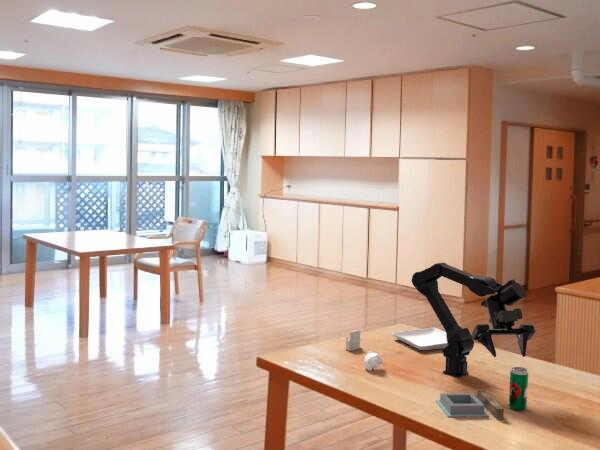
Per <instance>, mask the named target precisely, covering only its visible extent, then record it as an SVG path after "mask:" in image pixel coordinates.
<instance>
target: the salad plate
mask: <svg viewBox="0 0 600 450" xmlns="http://www.w3.org/2000/svg"><path fill="white" fill-rule="evenodd" d="M391 334H392V336H393V337H395V338H396V339H397V340H399V341H401V342H403V343H405V344H407V345H409V346H411V347H413V348H415V349H417V350H419V351H430V350H438V349H439V350H442V349H445V348H446V347H447V346H448V343H447V337H446V331H445V330H442V329H439V328H437V327H428V328H419V329H417V328H416V329H409V330H402V331H396V332H391Z"/></svg>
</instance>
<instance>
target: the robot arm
mask: <svg viewBox="0 0 600 450" xmlns="http://www.w3.org/2000/svg"><path fill="white" fill-rule="evenodd" d="M441 277H442V278H446V279H448V280H451V281H453V282H455V283H457V284H460V285H462V286H465V287H466V288H468V290H469V291H470V292H471V293H473V294H475V296H478V297H480V298H481V297H484V298H483V300H482V301H481V303H480V306H481V307H484V308H486V309H487V311H488V316H489V319H488V321H489V323H491V327H492V328H490V325H489V324H488V323H487V324H485V323H483V324H482V323H480V324H476V325H475V326H474V328H473V330H472V332H471V331H470V330H469V328H468V327H464V328H463V327H461V326H460V325H459V323H458V321H457V320H456V318H455V317H454V315H453V313H452V312H451V310H450V308H449V306H448V305H447V303H446V301H445V300H444V298H443V296H442V295H441V293H440V291H439V282H438V280H439V279H440V278H441ZM411 283H412V286H413V287H414V288H415V289H416V290H417V292H419V293H420V294H421V295H423V296H424V297H425V298H426V300H427V301H428V303H429V305H430V307H431V309H432V311H434V313H435V316H436V317H437V319H438V320H439V322H440V324H441V326H442V327H443V329H444V332H446V337H447V343H448V346H447V347H446V348H442V349H441V350H442V351H441V352H442V357H444V358H445V370H443V371H442V374H446V375H450V376H453V377H456V378H457V377H458V378H460V377H463V376H466V375H467V374H469V371H468V361H467V356H469V355H470V353H471V351H473V349H474V346H475V341H477V343H480V344H481V345H483V346H484V348H486V349H487V351H488V352H489V353H490V354H491V355H492V357H493V358H496V357H497V352H496V348H495V344H494V342H493V338H492V336H516V339H518V340H517V344H518V346H519V351H520V353H521V356H522V357H523V358H525V357H526V355H527V354H526V353H527V344H528V341H529V340H531V339H532V337H533V336H534V334H535V333H536V332H537V330H536V327H535V326H534V324H531V323H525V324H524V323H522V324H520V325H519V327H518V328H513V327H514V326H515V322H518V320H522V319H523V317H524V316H523V311H522V309H521V308H515V309H513V310H508V309H507V306H508V307H511V306H514V305H516V304H517V303H518V302H520V301H522V300H523V299H525V298H526V296H527V292H526V290H525V288H524V287H523V286H522V285H521V284H520V283H518V282H516V280H515V279H510V280H508V281H507V282H506V283H505V284H504V285H503V284H501V283H499V282H497V280H496V279H495V278H493V277H490V276H485V275H476V274H472V273H470V272H467V271H465V270H462V269H459V268H457V267H454V266H451V265H449V264H447V263H446V262H442V261H441V262H439V263H438V262H435V263H434V264H432V265H431V266H430V267H427V268H426V269H423V270H421V271H420V270H419V271H416V272H414V273H413V274H412V277H411ZM486 296H488V297H487V298H485V297H486Z"/></svg>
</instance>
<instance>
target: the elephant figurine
mask: <svg viewBox="0 0 600 450" xmlns="http://www.w3.org/2000/svg"><path fill="white" fill-rule="evenodd" d="M362 361H363V365H364V368H365V369H366V370H367V371H369V372H371V371H372V370H373V371H377V370H378V367H381V366H383V364H384V361H383V359H382V356H381V355H380V354H378V353H376V352H374V351H373V350H369V351H368V352H367V353H366V355H365V357H364V359H362Z"/></svg>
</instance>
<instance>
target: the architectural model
mask: <svg viewBox="0 0 600 450" xmlns="http://www.w3.org/2000/svg"><path fill="white" fill-rule="evenodd" d="M345 338H346V339H344V340H343V342H346V343H345V350H346V351H353V350H357V349H361V341H362V340H363V339H362V338H361V330H360V329H359V330H354V329H352V331H351V332H349V335H348V336H347V337H345Z"/></svg>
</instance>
